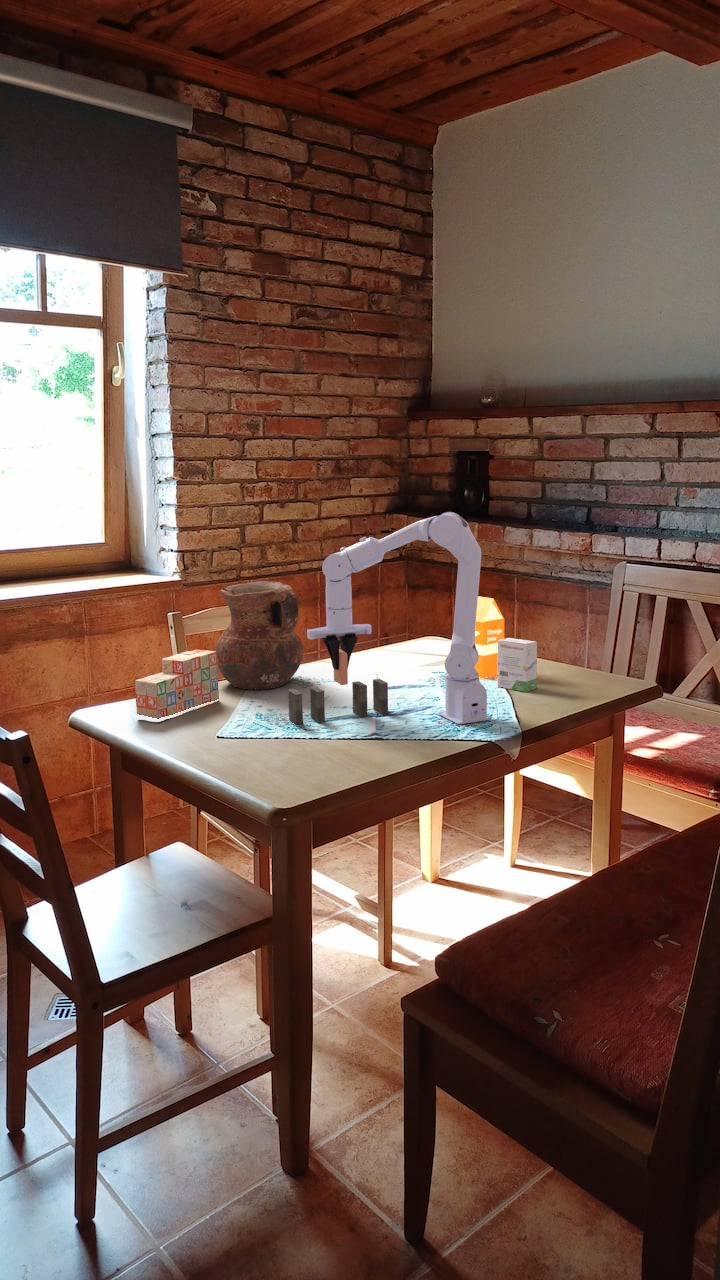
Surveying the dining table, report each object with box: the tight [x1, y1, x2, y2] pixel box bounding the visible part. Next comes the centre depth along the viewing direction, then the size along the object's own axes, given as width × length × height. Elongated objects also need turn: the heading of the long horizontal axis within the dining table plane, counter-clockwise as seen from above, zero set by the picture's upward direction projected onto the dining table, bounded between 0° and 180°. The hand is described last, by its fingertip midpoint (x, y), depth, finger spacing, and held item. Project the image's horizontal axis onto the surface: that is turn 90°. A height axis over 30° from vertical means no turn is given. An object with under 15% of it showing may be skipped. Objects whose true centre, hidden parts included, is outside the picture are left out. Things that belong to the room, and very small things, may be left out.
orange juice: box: [474, 595, 505, 679], centre depth 250 cm, size 8×9×20 cm
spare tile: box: [333, 648, 349, 686], centre depth 216 cm, size 4×2×7 cm, turn 22°
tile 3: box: [309, 686, 326, 724], centre depth 212 cm, size 4×2×7 cm, turn 23°
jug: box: [214, 580, 304, 690], centre depth 244 cm, size 22×21×25 cm
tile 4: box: [287, 688, 304, 726], centre depth 210 cm, size 4×2×7 cm, turn 23°
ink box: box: [497, 637, 538, 693], centre depth 235 cm, size 8×5×12 cm, turn 47°
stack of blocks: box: [134, 649, 220, 719], centre depth 221 cm, size 21×6×12 cm, turn 150°
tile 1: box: [372, 678, 389, 715], centre depth 217 cm, size 4×2×7 cm, turn 23°
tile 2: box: [351, 681, 368, 718], centre depth 215 cm, size 4×2×7 cm, turn 23°
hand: (340, 668), depth 217 cm, fingers closed on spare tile, 1 cm apart
